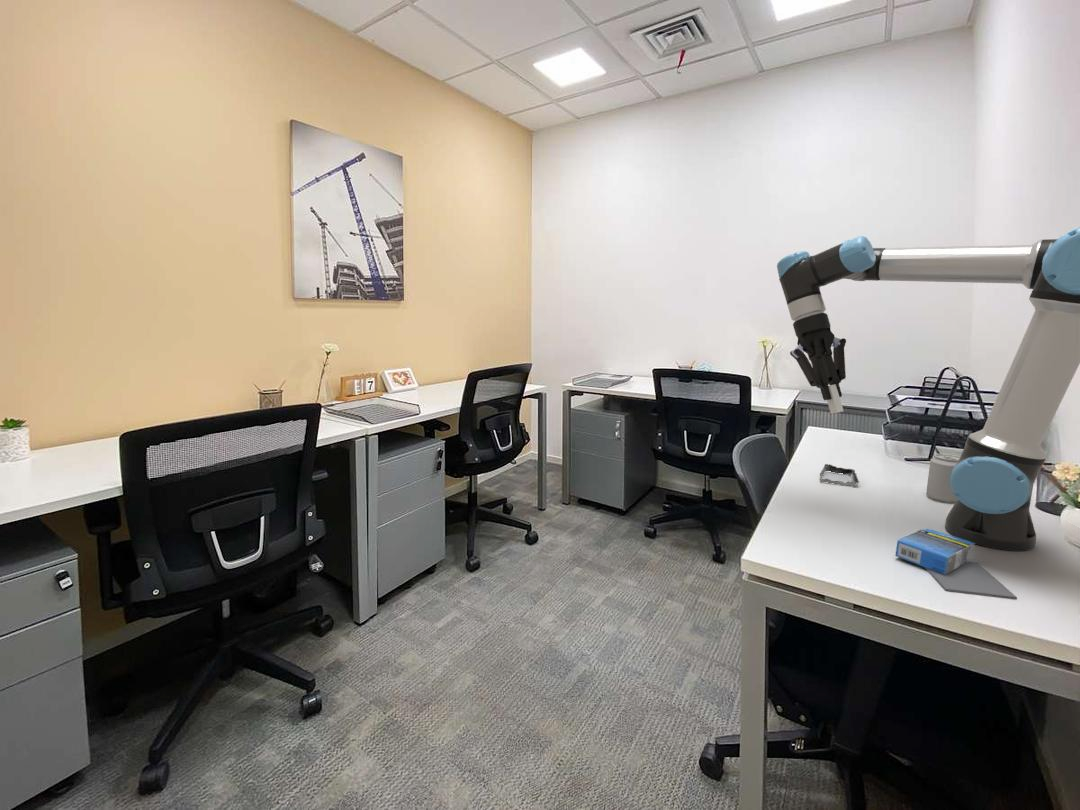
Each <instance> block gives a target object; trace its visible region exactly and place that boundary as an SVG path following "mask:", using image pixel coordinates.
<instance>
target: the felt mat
mask: <svg viewBox="0 0 1080 810" xmlns="http://www.w3.org/2000/svg"><path fill="white" fill-rule="evenodd" d="M923 568H924V569H925V570H926V571H927V572H928V573H929V575H930V576H932V578H933V579H934V580H935V582H937V583H938V584H939V586H941V588H942V589H943V590H944V591H946V592H953V593H963V594H969V595H977V596H985V597H996V598H1002V599H1010V600H1017V599H1018V597H1017V596H1016V595H1015V594H1014V593H1013V592H1012V591H1010V589H1008V588H1007V587H1006V586H1005V585H1004V584H1003V583H1002V582H1001V581H999V580H998V579H997V578H995V576H993V575H992V574H991V573H990V572H989V571H988V570H987V569H986V568H984V567H983V566H982V565H981V564H980V563H979V562H975V561H967V560H965V563H964V564H963V565H961V566H959V567H958V568H956V569H954V570H952V571H951V572H949V573H947V574H945V575H944V574H941V573H939V572H936V571H933V570H931V569H928V568H925V567H923Z"/></svg>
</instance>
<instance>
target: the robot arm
mask: <svg viewBox="0 0 1080 810" xmlns="http://www.w3.org/2000/svg"><path fill="white" fill-rule="evenodd" d="M776 268H777V274H778V279H779V283H780V285H781V289H782V292H783V295H784V298H785V302H786V305H787V308H788V312H789V315H790V316H789V317H790V319H791V321H794V322H793V324H792V327H793V330H794V333H795V336H796V337H797V346H796V347H795V348H794V349H793V350H791V351H790V352H789V354H790V356H791V357H792V358H794V360H796V362H797V364H798V366H799V367H800V369H801V371H802V373H803V375H804V376H805V378H806V380H807V382H808V383H809V385H810V386H811V387H816V388H817V389H820V393H821V395H822V396H821V397H822V399H823V400H824V401H826V402H827V405H828V409H829V412H830V414H831V415H832V414H838V413H843V412H844V407H843V405H842V400H841V397H842V396H843V394H842V393H843V392H842V390H841V387H840V383H841V382H842V380H846V378H847V377H846V361H845V360H846V359H845V358H846V357H845V346H846V344H847V339H846V338H843V337H842V338H838V337H835V334H834V333H833V332H832V330H831V322H830V319H829V315H828V314H827V313H826V310H827V309H826V305H825V302H824V299H823V296H822V292H821V290H820V288H821V287H824V286H827V285H829V284H832V283H835V282H837V281H840V280H843V279H844V280H845V279H846V280H851V281H855V282H866V281H883V282H885V281H887V282H889V281H891V282H894V281H895V282H935V283H938V282H939V283H941V282H942V283H970V284H971V283H973V284H974V283H976V284H977V283H982V284H983V283H984V284H1021V285H1023V286H1024V287H1025V288H1026V289H1028V290H1031V293H1030V295H1029V297H1028V300H1029V302H1030V303H1031V304H1032V306H1033V307H1034V312H1033V315H1032V317H1031V319H1030V322H1029V324H1028V326H1027V328H1026V329H1025V330H1026V331H1025V333H1024V334H1023V338H1022V339H1021V342H1020V344H1019V346H1018V349H1017V351H1016V353H1015V356H1014V358H1013V360H1012V362H1011V364H1010V367H1009V369H1008V372H1007V373H1006V376H1005V379H1004V381H1003V383H1002V385H1001V387H1000V390H999V392H998V394H997V396H996V399H995V400H994V403H993V405H992V407H991V411H990V412H989V415H988V417H987V419H986V421H985V424H984V426H983V428H982V429H980V430H977V431H975V432H971V433H969V434H968V436H967V438H966V439H967V440H966V441H965V444H964V448H963V450H962V452H961V454H960V455H959V456H960V459H959V461H958V463H957V464H956V466H954V467H953V469H952V471H951V473H950V486H951V489H952V491H953V493H954V495H955V496H956V497H957V498H958V500H957V501H956V503H953V506H952V508H951V509H950V511H949V513H948V515H947V516H946V519H945V523H944V529H945V530H946V531H947V532H948V533H949V534H951V536H954V537H957V538H961V539H964V540H967V541H970V542H973V543H975V544H974V545H979V546H983V547H987V548H992V549H996V550H997V549H998V550H1004V551H1014V552H1015V551H1016V552H1017V551H1018V552H1020V551H1021V552H1023V551H1030V550H1032V549H1034V548H1035V546H1036V542H1037V541H1036V540H1037V534H1036V531H1035V530H1036V529H1035V527H1034V522H1033V520H1032V516H1031V512H1030V507H1031V501H1032V494H1033V488H1034V484H1035V482H1036V480H1037V478H1038V476H1039V474H1040V472H1041V469H1042V467H1043V466H1044V463H1045V461H1046V459H1047V454H1046V452H1045V451H1044V449H1043V448H1042V446H1041V444H1042V442H1043V440H1044V438H1045V436H1046V435H1047V432H1048V430H1049V427H1050V426H1051V423H1052V422H1053V419H1054V418H1055V416H1056V413H1057V412H1058V409H1059V407H1060V404H1061V403H1062V401H1063V399H1064V397H1065V395H1066V392H1067V390H1068V388H1069V387H1070V385H1071V383H1072V380H1073V378H1074V376H1075V374H1076V373H1077V371H1078V368H1079V366H1080V226H1079V227H1076V228H1074V229H1072V230H1070V231H1068V232H1065V233H1064V234H1063V235H1061V236H1060V237H1059V238H1054V239H1053V238H1052V239H1039V240H1037V241H1036V242H1035V243H1033V244H1025V245H1024V244H1021V245H1017V244H1016V245H976V246H975V245H973V246H971V245H970V246H967V245H966V246H923V247H922V246H920V247H919V246H918V247H916V246H915V247H873V245H872V243H871V242H870V240H869V239H868V238H867V237H866V236H864V235H860V236H857V237H854V238H852V239H848V240H845V241H843V242H842V243H840V244H837V245H835V246H833V247H830V248H828V249H825V250H824V251H821V252H819V253H817V254H815V255H810V253H809V252H808V251H805V250H804V251H797V252H794V253H792V254H788V255H786V256H784V257H782V258H781V259H780V260H779V261H778V262H777V263H776ZM804 353H805V354H804ZM807 356H808V357H807Z"/></svg>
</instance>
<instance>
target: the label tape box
mask: <svg viewBox="0 0 1080 810" xmlns="http://www.w3.org/2000/svg"><path fill="white" fill-rule="evenodd" d="M896 541H897V542H896V548H895V554H894V555H895V557H897V558H900V559H902V560H904V561H908V562H909V563H913V564H916V565H918V566H920V567H922V568H924V567H925V568H928V569H931V570H933V571H936V572H939V573H941V574H944V575H945V574H947V573H949V572H951V571H952V570H954V569H956V568H958V567H959V566H961V565H963V564H964V563H965V561H967V560H966V559H967V557H968V556H969V555H968V554H969V552H970V549H971V546H973V545H976V544H975V543H973V542H970V541H967V540H964V539H961V538H958V537H956V536H954V535H952V534H951V535H949V534H947V533H944V532H940V531H937V530H933V529H929V528H926V529H925V528H924V529H920V530H918V531H916V532H913V533H911V534H909V535H907V536H904V537H902V538H899V539H897V540H896ZM925 568H924V569H925Z"/></svg>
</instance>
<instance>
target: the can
mask: <svg viewBox="0 0 1080 810" xmlns="http://www.w3.org/2000/svg"><path fill="white" fill-rule="evenodd" d="M960 456H961V455H957V454H951V453H936V454H935V453H934V454H933V457H932V458H931V459H930V463H929V470H928V476H927V485H926V493H925V494H926V496H928V497H929V499H931V500H932V501H936V502H940V503H945V504H955V503H956V501H957V500H958V498H957V497H956V496H955V495H954V493H953V491H952V489H951V486H950V473H951V471H952V469H953V467H954V466H956V464H957V463H958V461H959V459H960Z"/></svg>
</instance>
